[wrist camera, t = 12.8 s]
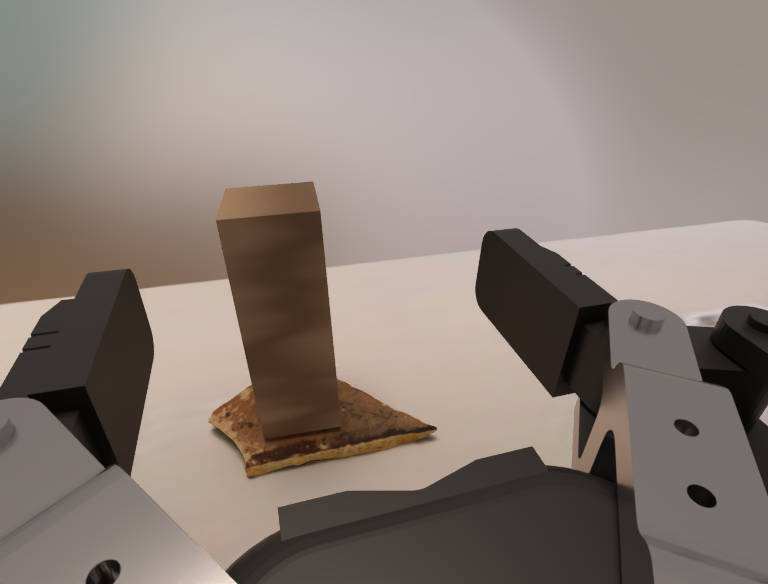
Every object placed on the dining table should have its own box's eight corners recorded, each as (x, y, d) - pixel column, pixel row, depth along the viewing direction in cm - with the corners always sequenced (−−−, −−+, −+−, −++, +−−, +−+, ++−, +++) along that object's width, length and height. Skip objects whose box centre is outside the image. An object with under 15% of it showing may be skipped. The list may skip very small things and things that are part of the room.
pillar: (264, 439, 24) (215, 220, 18) (265, 387, 27) (225, 188, 21) (341, 426, 24) (320, 210, 18) (333, 377, 28) (313, 181, 22)
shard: (436, 446, 26) (438, 423, 25) (352, 561, 20) (351, 537, 19) (293, 373, 31) (291, 351, 30) (197, 448, 26) (190, 426, 25)
